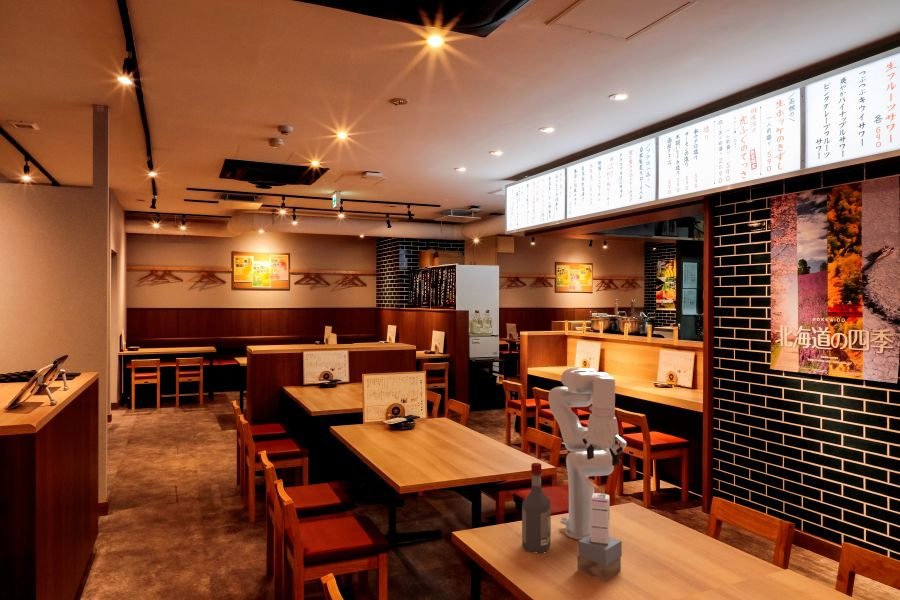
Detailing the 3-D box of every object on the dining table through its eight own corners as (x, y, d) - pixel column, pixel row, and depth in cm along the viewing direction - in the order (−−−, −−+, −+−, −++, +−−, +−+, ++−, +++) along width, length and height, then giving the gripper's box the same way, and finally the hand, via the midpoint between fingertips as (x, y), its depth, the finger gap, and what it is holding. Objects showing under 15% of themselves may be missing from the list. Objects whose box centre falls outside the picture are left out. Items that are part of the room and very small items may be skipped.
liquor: (520, 551, 205) (520, 466, 205) (527, 541, 214) (527, 459, 214) (546, 555, 202) (546, 469, 202) (551, 544, 210) (551, 462, 210)
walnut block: (577, 571, 190) (577, 556, 190) (593, 561, 197) (593, 547, 197) (604, 581, 183) (604, 565, 183) (620, 571, 190) (620, 556, 190)
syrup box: (608, 544, 187) (609, 499, 187) (589, 541, 189) (590, 496, 189) (609, 538, 192) (610, 494, 193) (591, 535, 194) (592, 492, 195)
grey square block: (578, 556, 190) (578, 540, 190) (594, 547, 197) (594, 532, 197) (606, 565, 183) (606, 550, 183) (621, 556, 190) (621, 540, 190)
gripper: (575, 409, 202) (575, 458, 202) (620, 418, 189) (619, 470, 190) (587, 406, 207) (587, 454, 207) (632, 414, 194) (631, 465, 195)
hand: (602, 461), depth 199 cm, fingers open, 9 cm apart
